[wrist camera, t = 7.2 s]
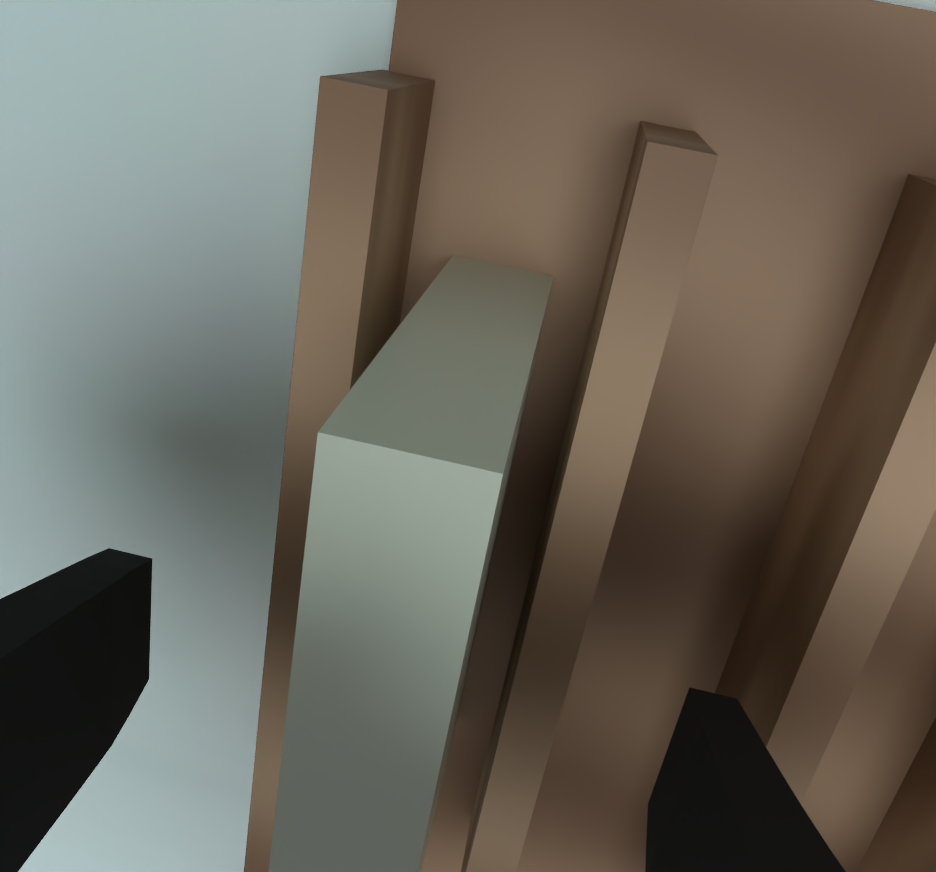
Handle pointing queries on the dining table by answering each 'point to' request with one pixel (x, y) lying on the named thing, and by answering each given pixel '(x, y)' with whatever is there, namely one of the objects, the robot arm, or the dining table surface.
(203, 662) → the dining table surface
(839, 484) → the walnut rack
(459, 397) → the upright gray panel
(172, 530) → the dining table surface
